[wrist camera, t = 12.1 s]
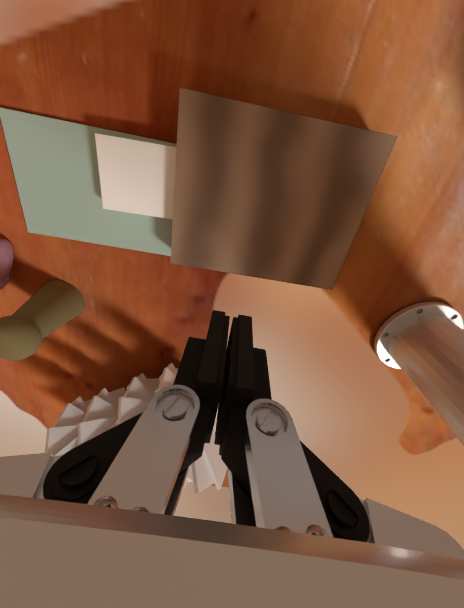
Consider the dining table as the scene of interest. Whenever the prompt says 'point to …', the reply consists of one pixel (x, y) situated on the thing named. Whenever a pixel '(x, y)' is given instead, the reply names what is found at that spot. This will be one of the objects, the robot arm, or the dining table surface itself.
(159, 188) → the tile
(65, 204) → the mat
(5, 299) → the dining table surface
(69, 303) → the cork
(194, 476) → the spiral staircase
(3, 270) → the video game controller
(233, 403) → the robot arm
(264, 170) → the board
